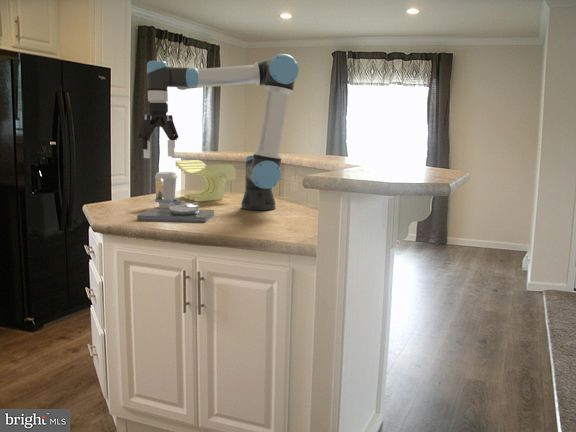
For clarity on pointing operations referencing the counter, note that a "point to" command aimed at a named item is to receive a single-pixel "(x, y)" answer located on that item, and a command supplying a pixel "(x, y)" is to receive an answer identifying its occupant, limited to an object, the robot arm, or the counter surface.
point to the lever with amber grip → (175, 202)
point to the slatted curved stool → (208, 178)
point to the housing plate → (174, 216)
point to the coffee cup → (167, 186)
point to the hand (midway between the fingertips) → (159, 157)
